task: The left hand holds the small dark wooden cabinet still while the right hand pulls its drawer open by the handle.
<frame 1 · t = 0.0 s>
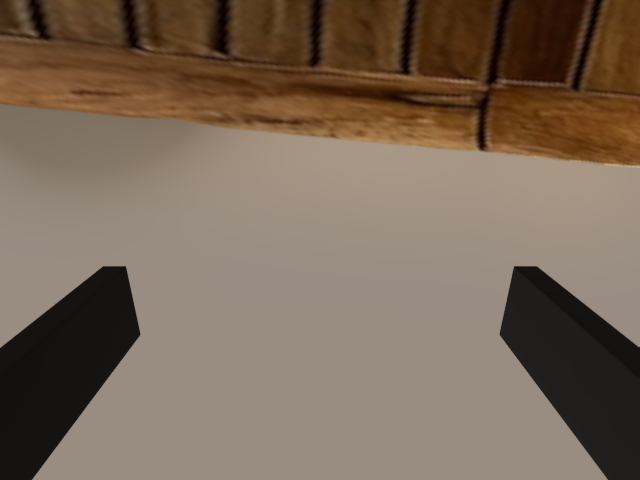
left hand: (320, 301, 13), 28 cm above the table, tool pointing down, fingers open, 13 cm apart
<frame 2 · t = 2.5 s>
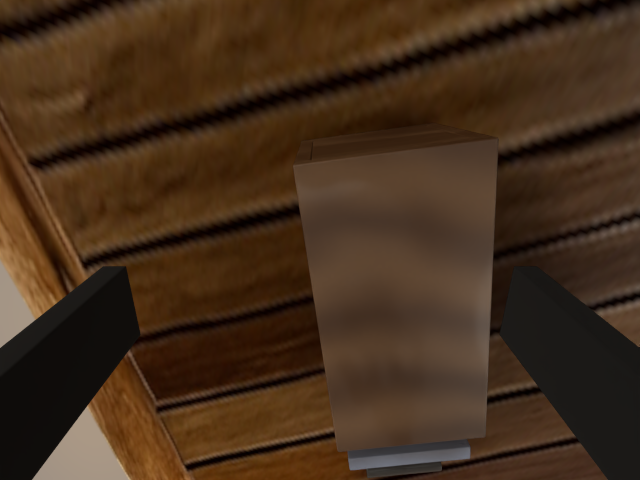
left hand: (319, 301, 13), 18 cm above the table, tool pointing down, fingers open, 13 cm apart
drawer: (393, 353, 29), point 5 cm above the table, slide at 2.0 cm
cabinet: (377, 251, 32), on the table
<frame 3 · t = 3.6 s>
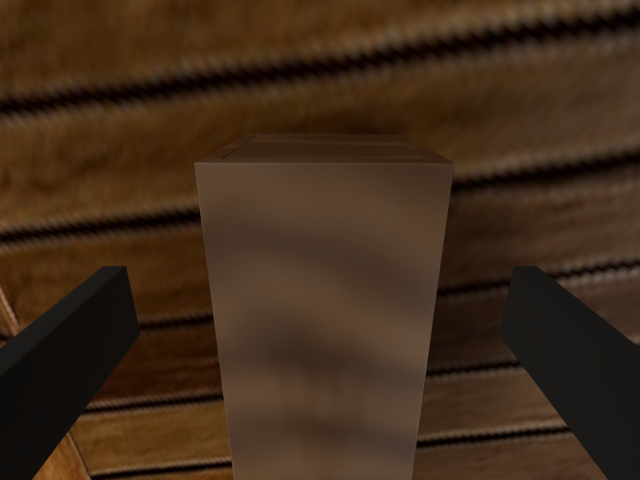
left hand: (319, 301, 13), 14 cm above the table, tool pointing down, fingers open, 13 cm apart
cabinet: (323, 270, 28), on the table
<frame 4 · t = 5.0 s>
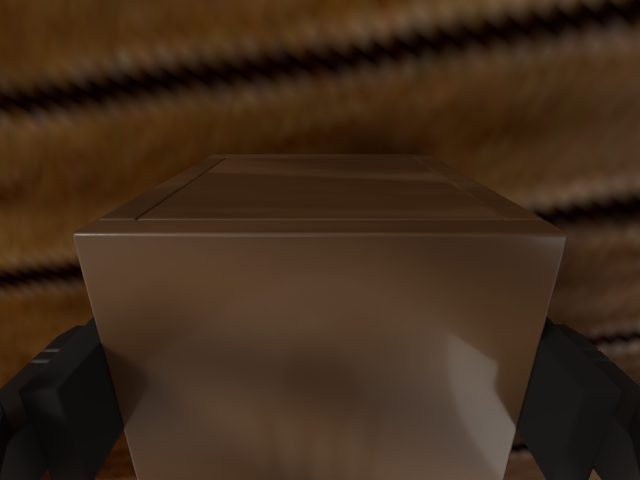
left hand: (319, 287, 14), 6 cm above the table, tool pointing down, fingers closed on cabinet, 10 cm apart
cabinet: (320, 331, 21), on the table, touching left hand
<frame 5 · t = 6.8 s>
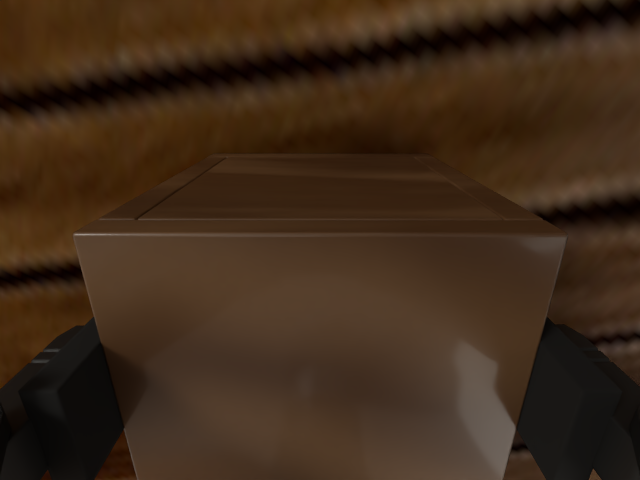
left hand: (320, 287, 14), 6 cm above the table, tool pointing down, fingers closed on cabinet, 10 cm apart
cabinet: (320, 331, 21), on the table, touching left hand
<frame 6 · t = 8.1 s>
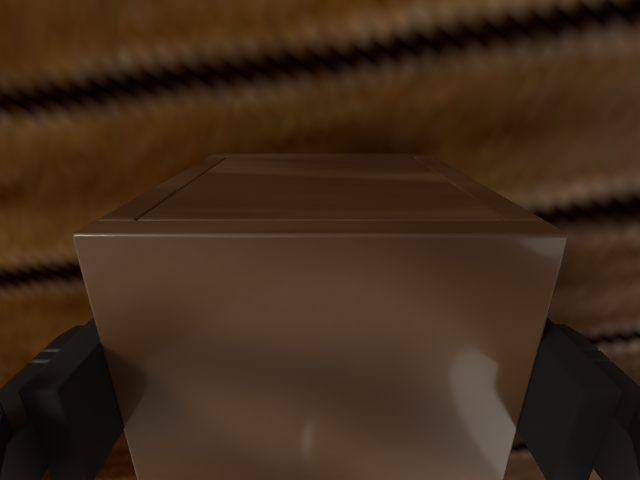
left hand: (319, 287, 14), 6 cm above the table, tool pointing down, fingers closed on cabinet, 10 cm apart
cabinet: (320, 330, 21), on the table, touching left hand
when the left hand's fingers open (6 cm above the table, at t = 9.9 s): cabinet stays where it is, on the table.
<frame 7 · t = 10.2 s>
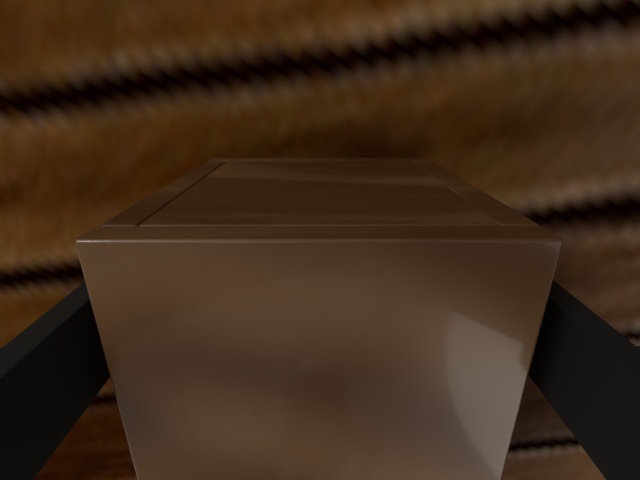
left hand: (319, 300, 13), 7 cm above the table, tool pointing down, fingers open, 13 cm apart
cabinet: (319, 333, 21), on the table
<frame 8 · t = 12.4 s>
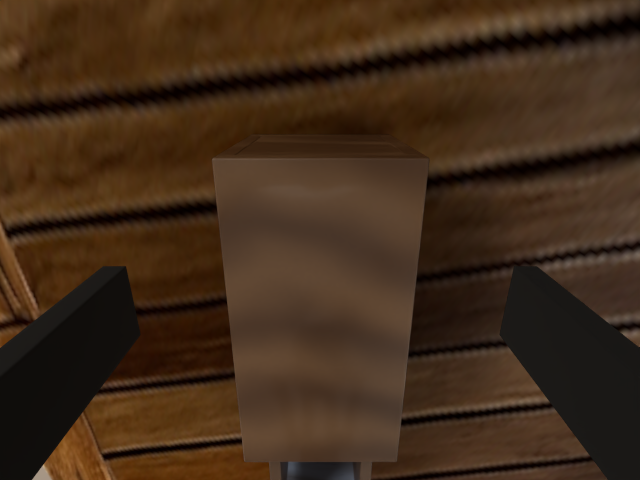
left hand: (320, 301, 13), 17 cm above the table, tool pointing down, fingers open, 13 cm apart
drawer: (320, 434, 31), point 5 cm above the table, slide at 9.2 cm
cabinet: (320, 258, 31), on the table
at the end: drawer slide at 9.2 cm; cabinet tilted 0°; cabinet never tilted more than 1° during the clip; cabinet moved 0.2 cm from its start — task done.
